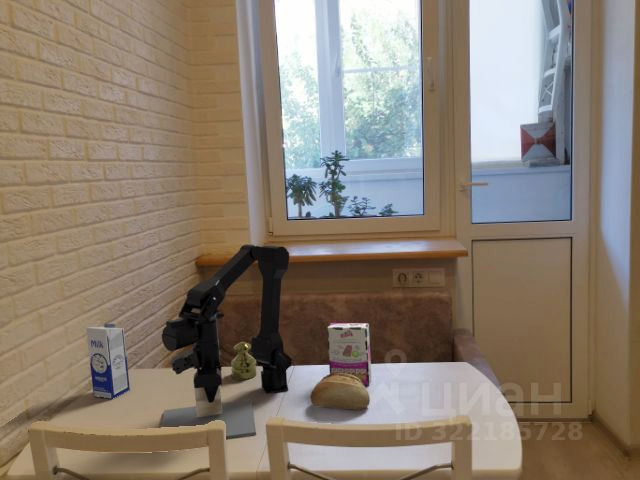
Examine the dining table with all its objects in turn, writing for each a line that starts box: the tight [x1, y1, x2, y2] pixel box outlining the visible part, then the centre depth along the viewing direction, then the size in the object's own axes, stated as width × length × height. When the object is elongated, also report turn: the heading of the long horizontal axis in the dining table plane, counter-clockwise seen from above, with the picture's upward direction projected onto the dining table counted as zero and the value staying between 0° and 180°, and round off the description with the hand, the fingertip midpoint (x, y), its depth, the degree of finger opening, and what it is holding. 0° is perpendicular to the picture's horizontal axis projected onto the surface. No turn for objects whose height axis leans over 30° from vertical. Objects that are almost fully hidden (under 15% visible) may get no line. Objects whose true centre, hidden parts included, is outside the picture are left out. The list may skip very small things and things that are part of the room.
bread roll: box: [310, 373, 371, 411], centre depth 132 cm, size 10×15×8 cm, turn 82°
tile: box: [193, 385, 222, 417], centre depth 128 cm, size 6×2×8 cm, turn 101°
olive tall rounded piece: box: [230, 341, 258, 380], centre depth 155 cm, size 7×7×10 cm
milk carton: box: [85, 322, 131, 400], centre depth 146 cm, size 7×7×20 cm
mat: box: [160, 399, 257, 440], centre depth 127 cm, size 22×18×1 cm
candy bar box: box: [326, 322, 372, 386], centre depth 146 cm, size 11×5×16 cm, turn 77°
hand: (211, 400), depth 129 cm, fingers closed on tile, 2 cm apart
